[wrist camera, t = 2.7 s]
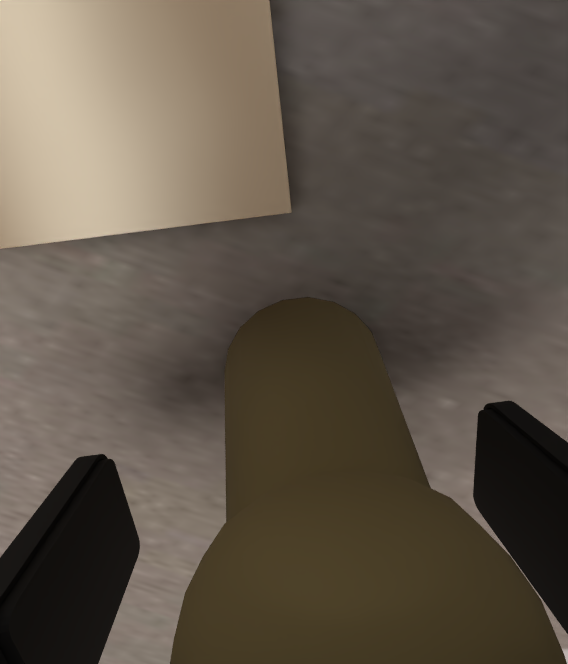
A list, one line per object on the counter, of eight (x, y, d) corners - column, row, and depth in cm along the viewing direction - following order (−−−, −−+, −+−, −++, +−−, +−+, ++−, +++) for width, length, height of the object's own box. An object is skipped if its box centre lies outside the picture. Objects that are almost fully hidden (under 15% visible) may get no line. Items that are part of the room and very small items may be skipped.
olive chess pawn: (312, 463, 15) (399, 1007, 5) (193, 386, 14) (-38, 913, 4) (413, 360, 14) (836, 821, 3) (291, 262, 12) (388, 539, 2)
